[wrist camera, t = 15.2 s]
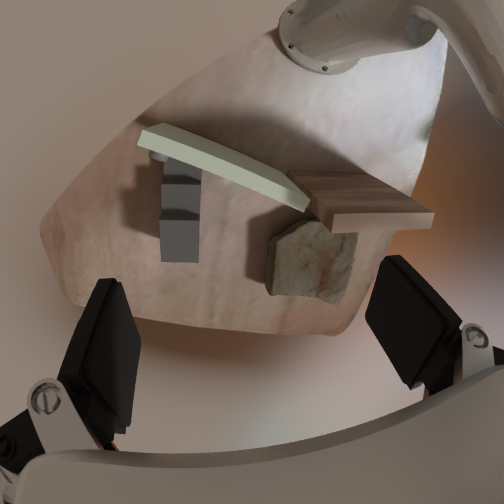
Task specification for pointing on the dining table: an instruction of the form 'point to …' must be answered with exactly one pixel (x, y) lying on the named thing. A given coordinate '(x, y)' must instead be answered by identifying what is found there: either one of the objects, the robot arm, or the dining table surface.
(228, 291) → the dining table surface
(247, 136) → the dining table surface
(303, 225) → the marble piece
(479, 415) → the robot arm
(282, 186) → the door
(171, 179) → the grey stepped block
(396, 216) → the wood grain plank
